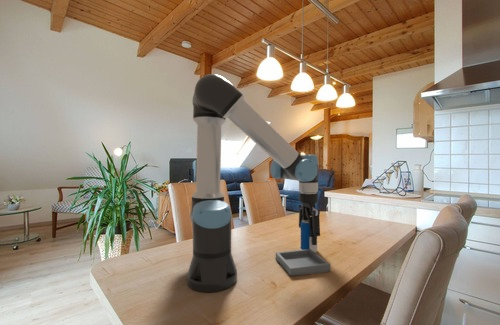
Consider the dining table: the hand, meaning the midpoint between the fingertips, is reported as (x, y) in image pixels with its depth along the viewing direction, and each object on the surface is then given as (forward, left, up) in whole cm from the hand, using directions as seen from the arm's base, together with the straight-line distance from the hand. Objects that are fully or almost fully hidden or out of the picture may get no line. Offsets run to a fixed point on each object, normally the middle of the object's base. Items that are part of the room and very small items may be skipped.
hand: (308, 249), depth 97 cm
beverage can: (0, 0, -1) cm, 1 cm away
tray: (-9, -12, 0) cm, 15 cm away
